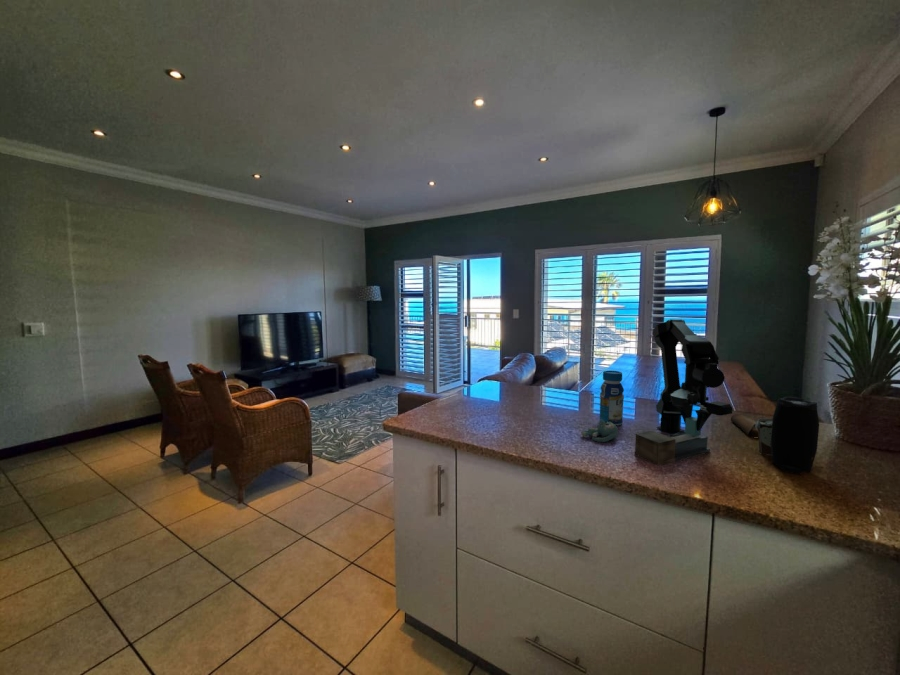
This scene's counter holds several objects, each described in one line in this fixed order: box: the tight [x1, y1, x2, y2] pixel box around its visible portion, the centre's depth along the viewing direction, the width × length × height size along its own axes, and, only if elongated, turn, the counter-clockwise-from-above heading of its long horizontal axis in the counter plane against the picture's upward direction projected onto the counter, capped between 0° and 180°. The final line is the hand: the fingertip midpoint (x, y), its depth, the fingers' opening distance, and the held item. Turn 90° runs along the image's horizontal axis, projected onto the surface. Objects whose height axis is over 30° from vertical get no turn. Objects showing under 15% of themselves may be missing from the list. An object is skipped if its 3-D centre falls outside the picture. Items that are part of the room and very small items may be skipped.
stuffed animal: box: [580, 418, 619, 443], centre depth 124 cm, size 11×7×12 cm
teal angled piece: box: [671, 416, 702, 443], centre depth 112 cm, size 13×4×8 cm, turn 113°
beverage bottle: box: [599, 370, 625, 426], centre depth 139 cm, size 8×8×20 cm
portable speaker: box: [771, 396, 820, 475], centre depth 99 cm, size 9×9×20 cm
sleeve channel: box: [666, 431, 711, 462], centre depth 112 cm, size 16×8×4 cm, turn 113°
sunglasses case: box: [730, 413, 759, 439], centre depth 130 cm, size 18×7×7 cm, turn 159°
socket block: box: [634, 430, 676, 466], centre depth 107 cm, size 7×8×7 cm
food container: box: [755, 417, 773, 456], centre depth 111 cm, size 12×6×10 cm, turn 71°
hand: (692, 428), depth 114 cm, fingers closed on teal angled piece, 3 cm apart
